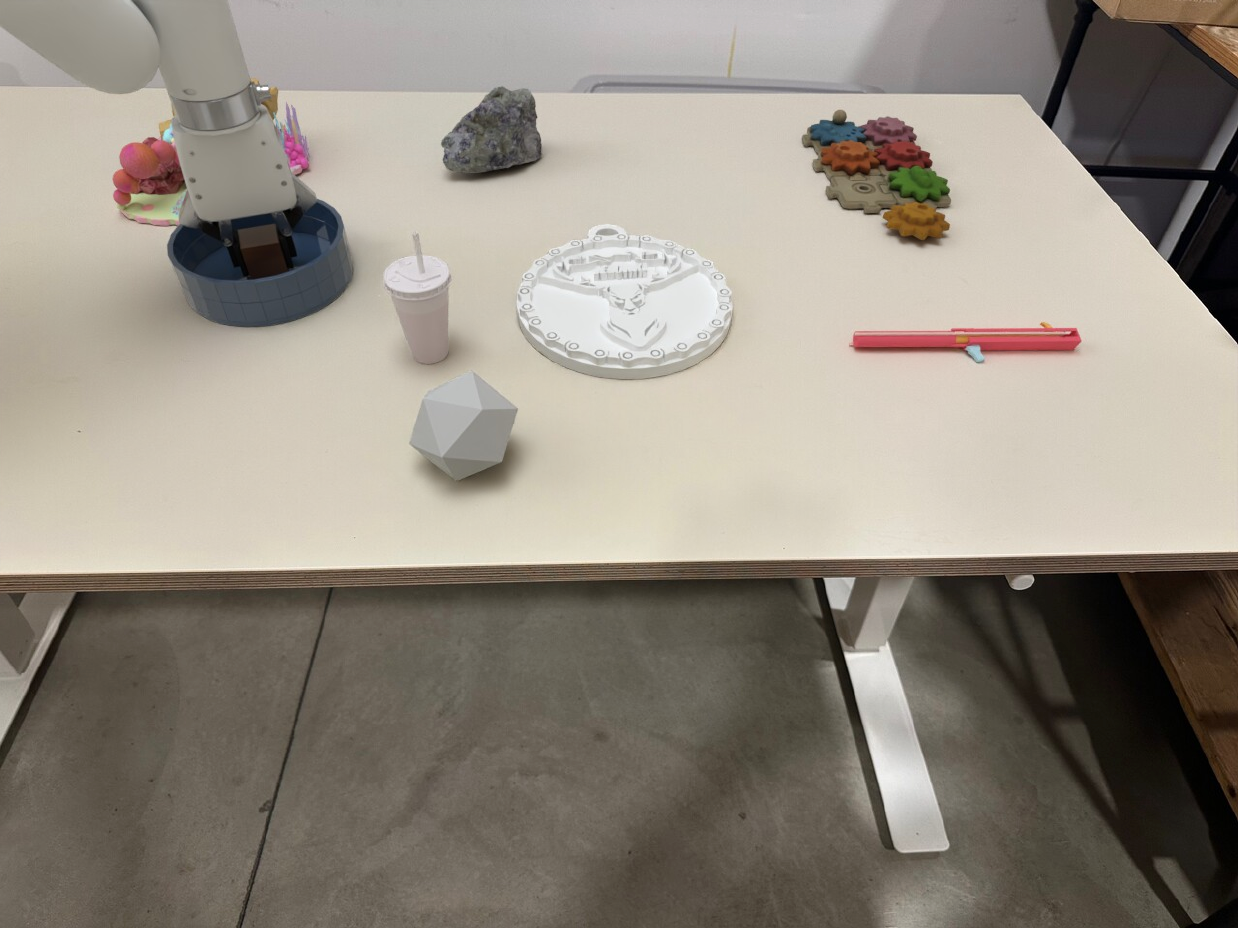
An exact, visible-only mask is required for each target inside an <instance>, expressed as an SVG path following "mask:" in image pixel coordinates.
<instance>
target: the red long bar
mask: <svg viewBox="0 0 1238 928" xmlns="http://www.w3.org/2000/svg"><path fill="white" fill-rule="evenodd" d="M1039 326H1041V327H1022V328H1019V327H1017V328H1016V327H1013V328H1010V327H1008V328H1006V327H1003V328H999V327H998V328H995V327H994V328H993V327H992V328H974V327H970V328H969V327H968V328H967V327H965V328H962V327H961V328H960V327H959V328H958V327H957V328H955V327H953V328H951V329H950V330H861V331H860V330H856V331H854V332H853V336H852V342H849V343H848V345H849V347H854V348H948V347H949V348H962V349H963V351H966V352H967V355H970V356H971V357H972V359H973V360H974V361H975V362H976V363H981V362H984V361H985V360H986V357H985V356H984V355H983V354H982V352H981V351H1075V349H1076V348H1077V347H1078V346H1079V345H1080V344H1081V343H1082V338H1081V336H1080V333H1079V331H1078V328H1077V327H1053V326H1052V325H1050V324H1049V323H1048V322H1045V321H1041V322H1040V323H1039ZM1066 332H1067V333H1066ZM1068 332H1069V333H1068Z"/></svg>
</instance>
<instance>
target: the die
mask: <svg viewBox="0 0 1238 928" xmlns="http://www.w3.org/2000/svg"><path fill="white" fill-rule="evenodd" d="M421 400H422V401H421V404H420V406H419V410H418V413H417V416H416V419H415V423H414V426H413V428H412V432H411V436H410V439H409V443H408V444H409V445H410V446H411V447H413V449H415V450H416V451H417V452H419V453H420V454H421V455H422V456H423V457H425V458H426V459H427V460H429V461H430V462H432V464H434V465H435V466H436V467H438V468H439V469H440V470H441V471H442V472H444V473H445V474H446V475H448V476H449V477H450V478H451V479H453V480H454V481H455V482H459V481H460V480H463V479H465V478H468V477H469V476H472V475H474V474H477V473H479V472H483V471H484V470H486V469H489V468H491V467H493V466H496V465H498V464H500V463H502V462H503V459H504V456H505V452H506V450H507V446H508V444H509V439H510V437H511V434H512V430H513V427H514V424H515V421H516V418H517V414H518V411H519V408H518V407H517V406H516V405H514V403H512V402H511V401H510V400H509V399H507V397H505V396H504V395H503V394H502V393H500V392H499V391H498V390H497V389H496V388H494V387H493V386H492V385H491V384H489V382H487V381H486V380H485V379H483V378H482V377H481V376H480V375H479V374H478V373H476V372H475V371H474V370H473V369H470V370H468V371H466V372H464V373H462V374H460V375H458V376H456V377H454V378H452V379H450V380H448V381H446V382H444V383H442V384H440V385H438V386H436V387H434V388H431V389H430V390H428V391H427V392H426V393H425V394H424V396H423V397H422V399H421Z"/></svg>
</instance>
